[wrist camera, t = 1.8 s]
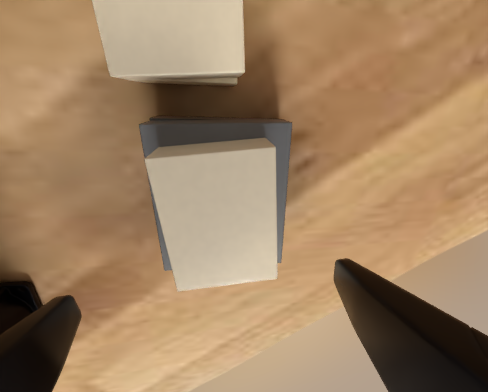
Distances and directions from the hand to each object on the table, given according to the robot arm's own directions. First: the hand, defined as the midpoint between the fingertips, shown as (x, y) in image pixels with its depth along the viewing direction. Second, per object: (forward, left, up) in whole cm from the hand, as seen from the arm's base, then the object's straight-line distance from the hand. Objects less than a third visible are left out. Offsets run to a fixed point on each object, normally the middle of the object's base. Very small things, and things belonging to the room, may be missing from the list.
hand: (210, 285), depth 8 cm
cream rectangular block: (0, 0, -7) cm, 7 cm away
